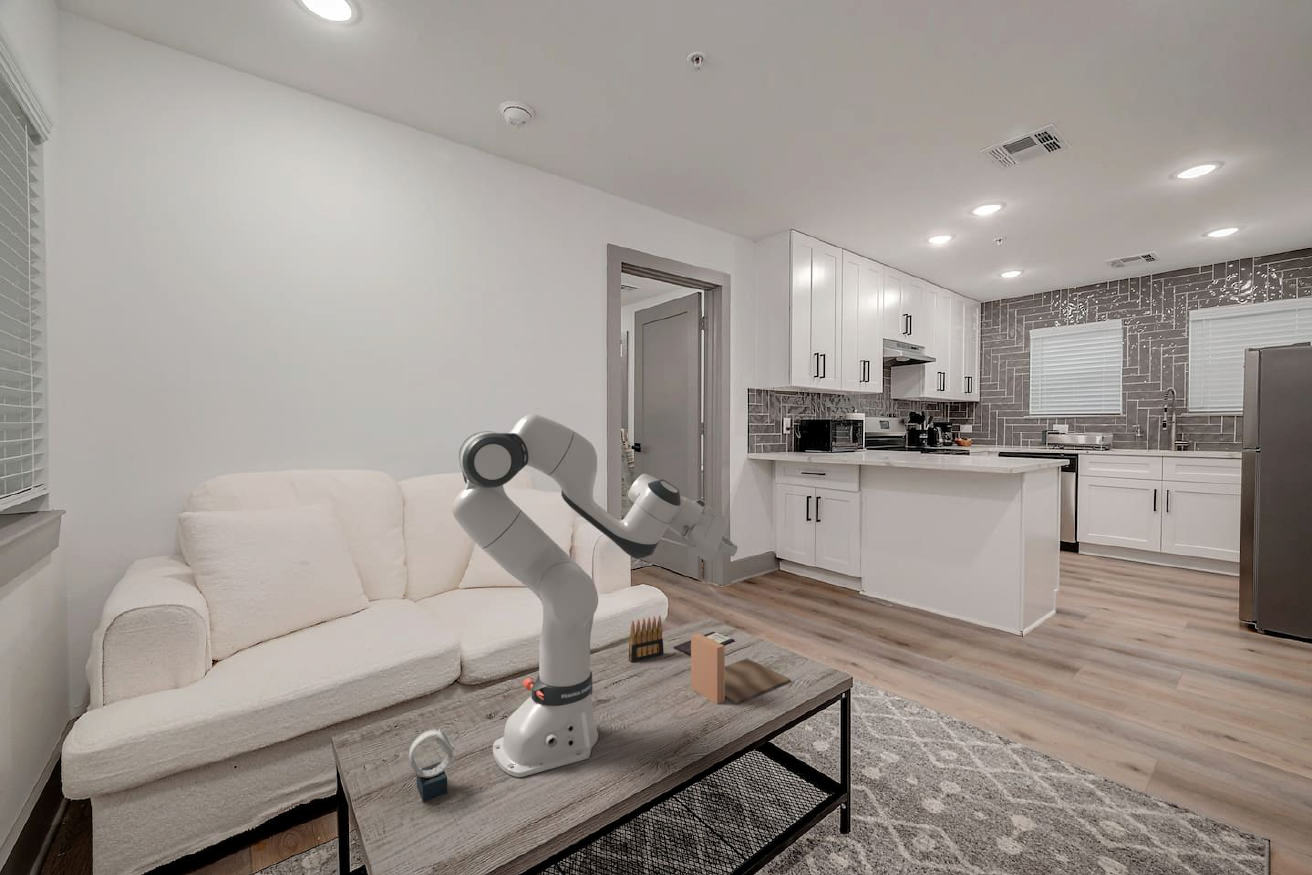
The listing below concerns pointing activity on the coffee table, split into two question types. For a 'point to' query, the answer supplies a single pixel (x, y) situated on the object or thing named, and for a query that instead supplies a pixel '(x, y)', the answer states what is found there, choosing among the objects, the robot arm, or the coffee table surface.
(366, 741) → the coffee table surface
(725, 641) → the chocolate bar
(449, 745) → the watch
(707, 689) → the terracotta tile
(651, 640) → the ammunition clip
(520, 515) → the robot arm
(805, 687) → the coffee table surface
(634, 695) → the coffee table surface
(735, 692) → the walnut board
